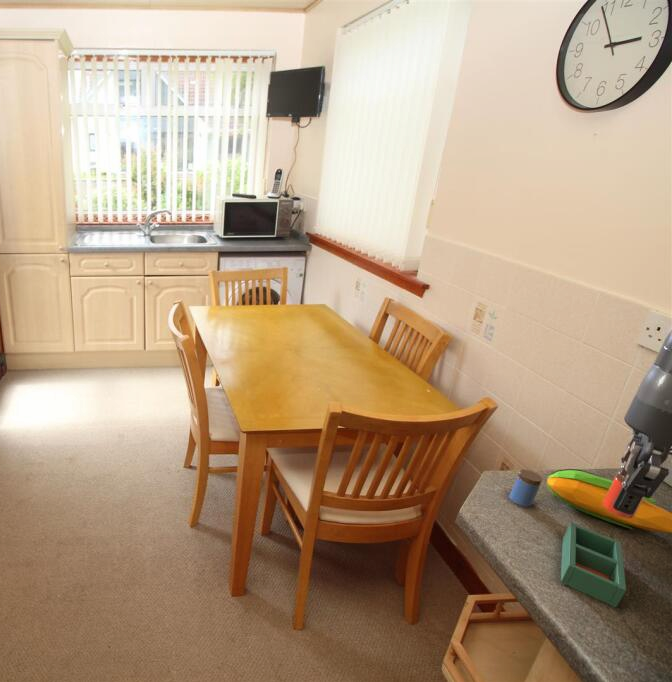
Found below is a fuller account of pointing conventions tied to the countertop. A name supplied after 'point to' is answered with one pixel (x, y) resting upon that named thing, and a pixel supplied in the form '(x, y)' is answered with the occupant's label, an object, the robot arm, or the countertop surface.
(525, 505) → the blue and brown cylinder
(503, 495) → the countertop surface
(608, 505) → the red pot
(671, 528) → the corn
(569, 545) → the caddy
